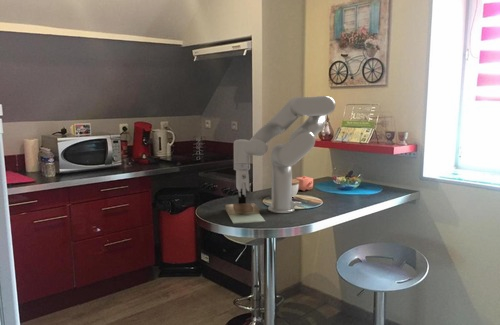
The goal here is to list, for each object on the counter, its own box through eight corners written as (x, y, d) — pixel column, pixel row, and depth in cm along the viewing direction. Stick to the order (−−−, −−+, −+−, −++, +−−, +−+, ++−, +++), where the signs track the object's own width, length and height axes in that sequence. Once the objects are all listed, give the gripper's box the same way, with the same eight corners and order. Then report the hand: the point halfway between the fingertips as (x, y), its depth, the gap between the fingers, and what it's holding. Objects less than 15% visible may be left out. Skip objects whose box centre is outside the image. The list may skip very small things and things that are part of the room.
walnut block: (250, 206, 197) (250, 203, 197) (253, 212, 191) (253, 208, 190) (233, 207, 196) (233, 203, 196) (235, 212, 190) (235, 209, 189)
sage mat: (259, 214, 195) (259, 213, 195) (265, 221, 184) (265, 220, 183) (229, 216, 192) (229, 215, 192) (233, 223, 181) (233, 222, 181)
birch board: (254, 208, 206) (254, 203, 205) (259, 214, 195) (259, 209, 195) (225, 209, 203) (225, 204, 203) (229, 216, 192) (229, 210, 192)
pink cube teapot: (306, 192, 239) (306, 178, 238) (292, 189, 249) (292, 175, 247) (316, 191, 243) (317, 177, 242) (302, 187, 253) (303, 174, 252)
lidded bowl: (297, 200, 221) (297, 179, 219) (273, 199, 224) (273, 178, 222) (299, 195, 233) (300, 175, 232) (277, 194, 236) (277, 174, 234)
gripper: (252, 168, 189) (252, 208, 192) (247, 163, 203) (247, 201, 206) (236, 169, 188) (236, 209, 190) (231, 164, 202) (231, 201, 205)
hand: (242, 205), depth 198 cm, fingers closed
